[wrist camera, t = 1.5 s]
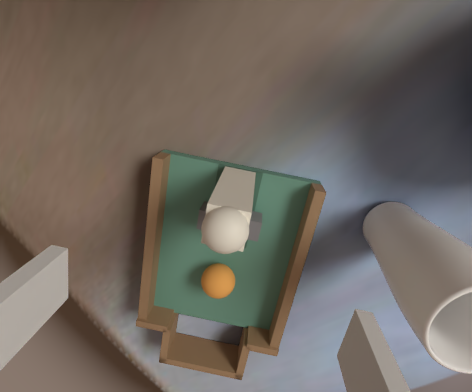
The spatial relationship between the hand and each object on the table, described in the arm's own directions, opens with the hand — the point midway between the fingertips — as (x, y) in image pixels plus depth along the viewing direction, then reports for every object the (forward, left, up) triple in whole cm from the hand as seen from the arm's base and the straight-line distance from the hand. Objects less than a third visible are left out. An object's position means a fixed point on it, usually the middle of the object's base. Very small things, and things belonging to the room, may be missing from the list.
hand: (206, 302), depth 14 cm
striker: (+1, 0, -17) cm, 17 cm away
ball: (+10, 0, -16) cm, 19 cm away
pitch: (+10, 0, -19) cm, 22 cm away
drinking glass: (+1, +16, -19) cm, 25 cm away
